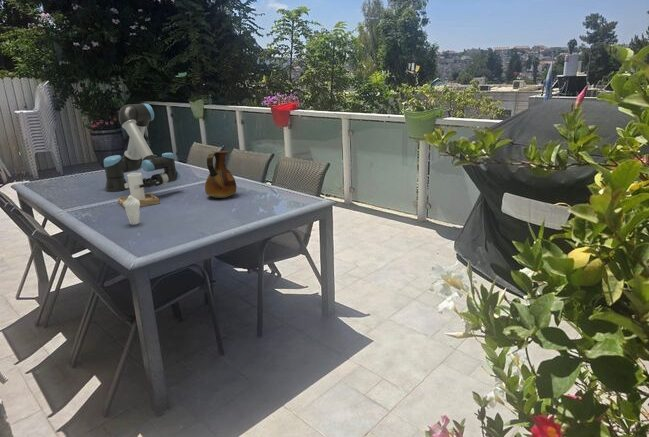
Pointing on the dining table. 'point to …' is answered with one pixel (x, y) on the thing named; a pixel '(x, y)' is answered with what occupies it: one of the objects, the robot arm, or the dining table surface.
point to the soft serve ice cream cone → (132, 209)
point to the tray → (147, 201)
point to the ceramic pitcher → (219, 177)
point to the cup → (134, 180)
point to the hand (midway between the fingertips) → (129, 186)
